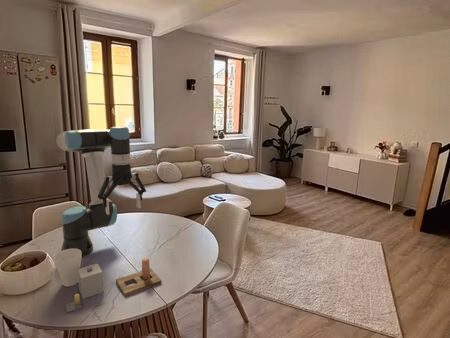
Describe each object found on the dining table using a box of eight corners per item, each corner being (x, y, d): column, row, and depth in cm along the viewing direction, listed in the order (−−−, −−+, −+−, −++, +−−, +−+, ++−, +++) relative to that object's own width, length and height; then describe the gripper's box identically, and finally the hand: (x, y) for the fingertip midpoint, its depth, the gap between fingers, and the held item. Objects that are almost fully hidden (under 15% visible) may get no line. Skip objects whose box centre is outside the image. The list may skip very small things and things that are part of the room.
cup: (55, 292, 119) (52, 262, 117) (58, 278, 129) (55, 250, 126) (83, 286, 124) (81, 257, 121) (84, 273, 133) (82, 246, 130)
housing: (78, 288, 122) (76, 267, 120) (98, 282, 127) (97, 261, 125) (83, 298, 116) (80, 276, 114) (103, 291, 121) (102, 269, 119)
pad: (65, 306, 111) (63, 295, 111) (79, 301, 114) (78, 290, 113) (67, 313, 108) (66, 302, 107) (82, 308, 111) (81, 297, 110)
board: (115, 282, 127) (115, 279, 127) (150, 270, 137) (150, 268, 136) (124, 296, 118) (124, 293, 117) (161, 283, 127) (161, 280, 127)
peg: (141, 279, 129) (140, 259, 127) (148, 277, 131) (147, 257, 129) (144, 283, 127) (143, 262, 125) (151, 280, 129) (150, 260, 127)
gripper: (92, 168, 113) (95, 219, 117) (152, 162, 127) (153, 207, 132) (87, 164, 118) (91, 213, 123) (145, 159, 133) (147, 203, 138)
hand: (123, 210), depth 128 cm, fingers open, 13 cm apart
